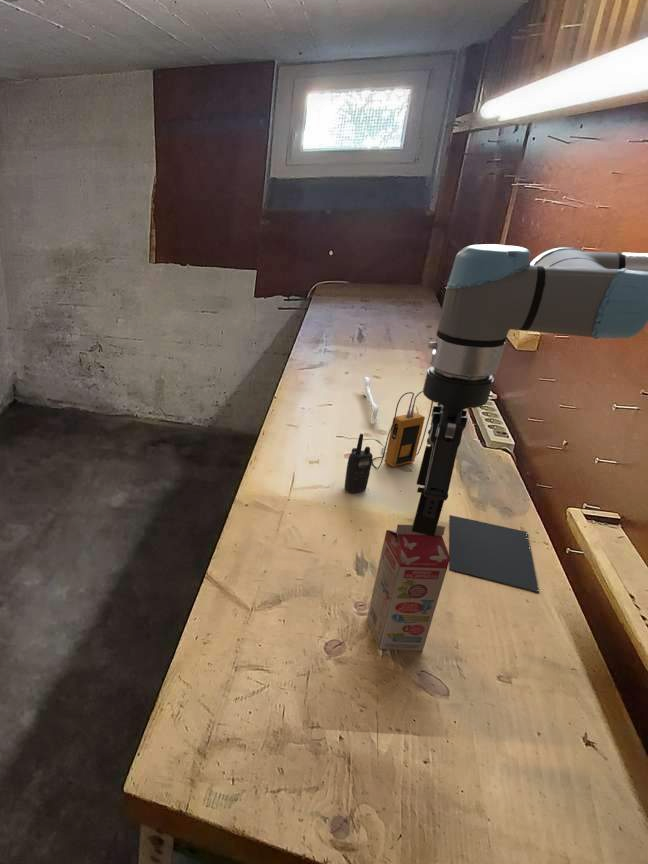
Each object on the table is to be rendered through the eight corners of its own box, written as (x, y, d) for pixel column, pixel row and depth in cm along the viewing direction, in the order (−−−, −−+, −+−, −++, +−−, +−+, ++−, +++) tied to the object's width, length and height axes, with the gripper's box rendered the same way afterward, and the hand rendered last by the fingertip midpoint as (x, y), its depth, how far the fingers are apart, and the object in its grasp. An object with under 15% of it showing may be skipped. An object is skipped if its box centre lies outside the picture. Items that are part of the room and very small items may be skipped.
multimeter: (396, 443, 153) (411, 374, 144) (425, 460, 144) (443, 388, 135) (351, 453, 149) (364, 383, 140) (379, 470, 140) (394, 397, 131)
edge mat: (527, 532, 116) (527, 531, 116) (538, 592, 100) (539, 592, 100) (449, 515, 122) (449, 514, 122) (449, 570, 107) (449, 569, 107)
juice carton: (366, 618, 96) (390, 512, 87) (407, 620, 96) (436, 513, 86) (379, 649, 90) (406, 538, 81) (422, 651, 90) (455, 539, 80)
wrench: (359, 391, 186) (362, 374, 183) (366, 391, 185) (369, 374, 183) (370, 427, 162) (374, 408, 159) (378, 427, 161) (382, 409, 159)
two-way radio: (348, 494, 131) (358, 437, 124) (337, 485, 135) (347, 429, 128) (369, 491, 132) (380, 434, 125) (358, 481, 136) (368, 426, 129)
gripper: (431, 340, 84) (402, 463, 93) (424, 400, 65) (389, 548, 74) (489, 347, 81) (453, 473, 90) (502, 411, 61) (454, 564, 71)
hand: (424, 507), depth 82 cm, fingers open, 13 cm apart
